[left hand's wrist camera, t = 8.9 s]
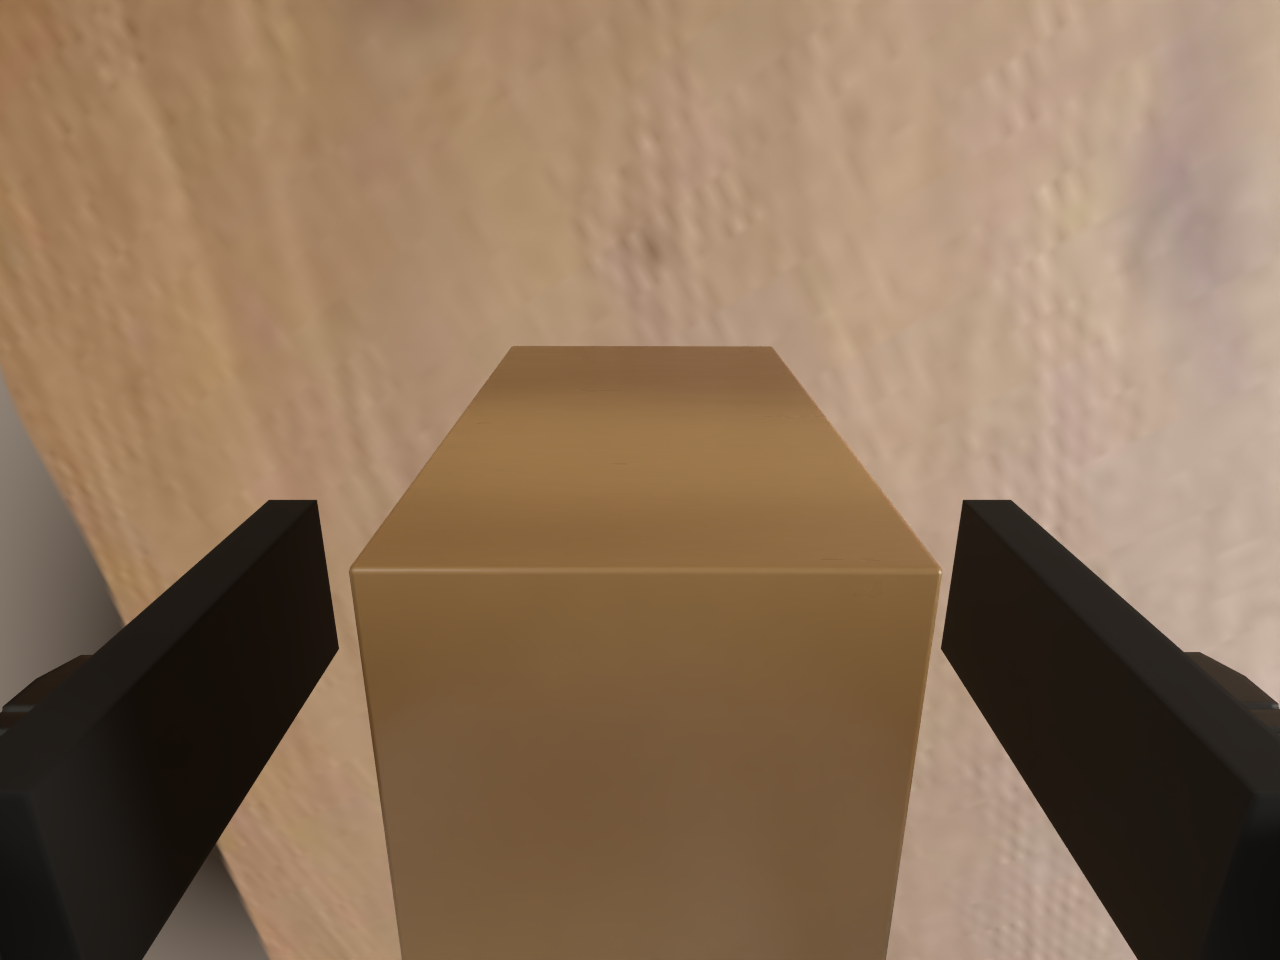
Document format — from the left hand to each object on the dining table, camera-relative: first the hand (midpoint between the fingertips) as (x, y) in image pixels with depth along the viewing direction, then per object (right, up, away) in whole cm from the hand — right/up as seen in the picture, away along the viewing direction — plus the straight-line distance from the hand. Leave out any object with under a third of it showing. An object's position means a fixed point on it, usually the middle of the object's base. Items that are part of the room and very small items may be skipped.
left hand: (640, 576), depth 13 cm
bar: (0, -7, +5) cm, 9 cm away
